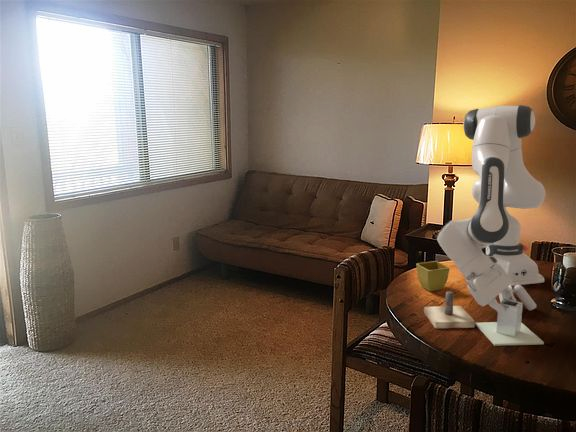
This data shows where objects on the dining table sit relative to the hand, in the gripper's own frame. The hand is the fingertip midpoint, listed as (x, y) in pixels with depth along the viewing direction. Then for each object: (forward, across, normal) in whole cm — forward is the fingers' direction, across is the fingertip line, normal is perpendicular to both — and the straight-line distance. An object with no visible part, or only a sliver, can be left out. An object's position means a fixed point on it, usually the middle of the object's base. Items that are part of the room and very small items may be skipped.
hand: (508, 307), depth 149 cm
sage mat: (+6, 0, +5) cm, 8 cm away
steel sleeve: (+6, 0, +5) cm, 8 cm away
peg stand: (-6, -1, +18) cm, 19 cm away
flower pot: (-17, +21, +29) cm, 40 cm away
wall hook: (+4, +20, +8) cm, 22 cm away
